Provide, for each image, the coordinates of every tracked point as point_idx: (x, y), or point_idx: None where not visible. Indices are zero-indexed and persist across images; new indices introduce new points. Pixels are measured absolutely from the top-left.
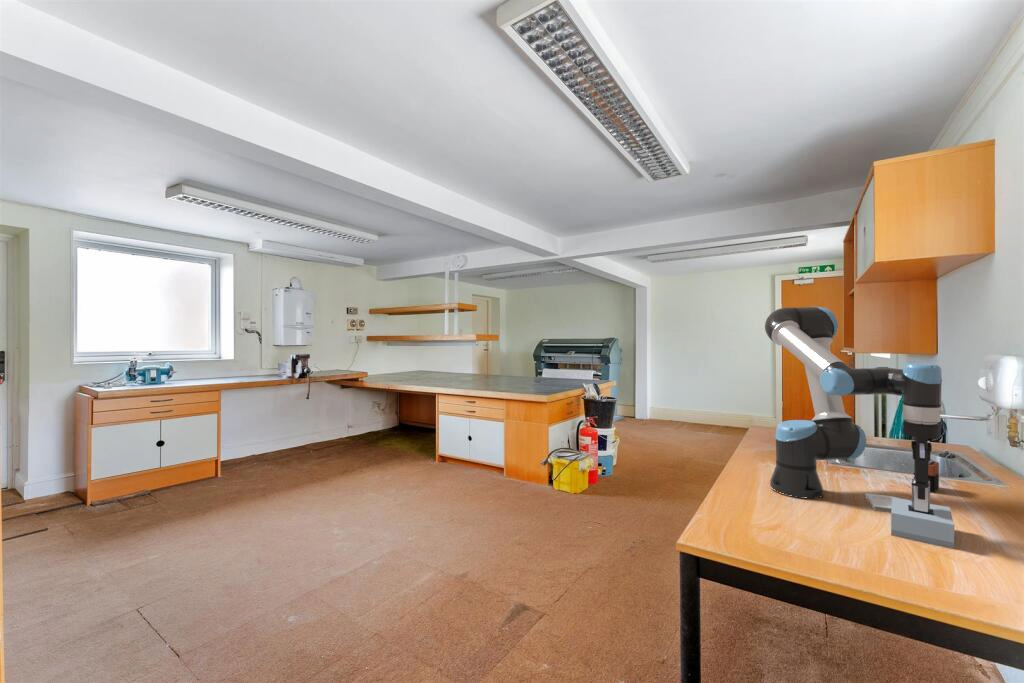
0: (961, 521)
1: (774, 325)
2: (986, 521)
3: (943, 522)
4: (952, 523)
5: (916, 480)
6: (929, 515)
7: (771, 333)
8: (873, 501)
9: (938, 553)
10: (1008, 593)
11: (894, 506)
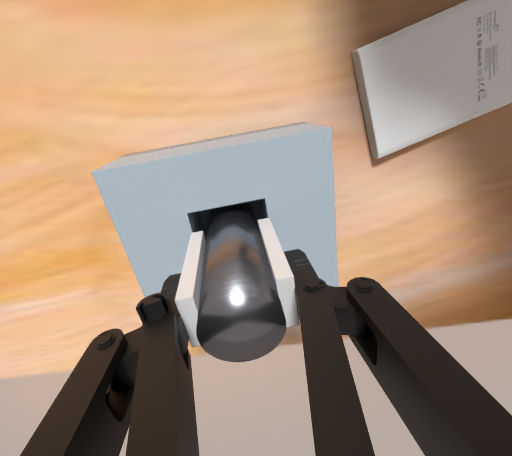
0: (396, 260)
1: None
2: (429, 293)
3: None
4: None
5: (75, 371)
6: None
7: None
8: (418, 33)
9: (103, 265)
10: (13, 370)
11: (195, 163)
